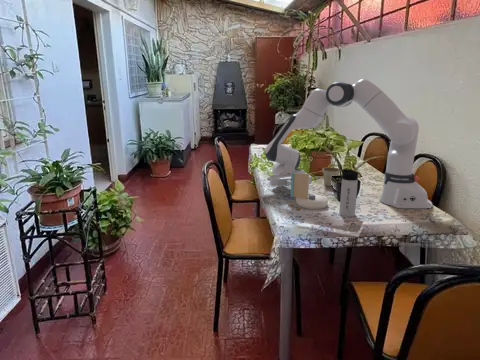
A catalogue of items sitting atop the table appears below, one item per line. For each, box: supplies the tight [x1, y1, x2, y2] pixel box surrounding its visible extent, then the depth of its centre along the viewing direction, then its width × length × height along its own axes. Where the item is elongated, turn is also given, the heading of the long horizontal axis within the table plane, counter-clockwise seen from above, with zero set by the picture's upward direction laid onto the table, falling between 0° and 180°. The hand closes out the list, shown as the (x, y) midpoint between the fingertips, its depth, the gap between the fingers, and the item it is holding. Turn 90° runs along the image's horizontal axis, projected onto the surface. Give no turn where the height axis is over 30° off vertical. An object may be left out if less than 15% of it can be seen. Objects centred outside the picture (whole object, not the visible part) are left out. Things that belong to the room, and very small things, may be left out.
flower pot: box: [321, 166, 340, 187], centre depth 199 cm, size 9×9×9 cm
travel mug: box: [338, 168, 359, 217], centre depth 152 cm, size 6×7×20 cm
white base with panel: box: [289, 172, 329, 210], centre depth 165 cm, size 17×14×14 cm
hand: (295, 184), depth 170 cm, fingers closed
